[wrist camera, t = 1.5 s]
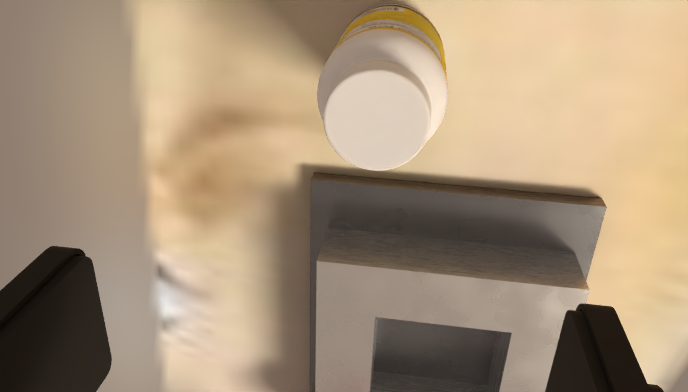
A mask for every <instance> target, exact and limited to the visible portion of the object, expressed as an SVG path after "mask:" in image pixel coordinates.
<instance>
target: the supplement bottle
mask: <svg viewBox="0 0 688 392" xmlns="http://www.w3.org/2000/svg"><path fill="white" fill-rule="evenodd" d="M447 98H448V86H447V77H446V65H445V56H444V49H443V44H442V41H441V38H440V36H439V34H438V32H437V30H436V28H435V27H434V26H433V24H432V23H431V22H430V21H429V20H428V19H427V18H426V17H425V16H424V15H423V14H421V13H420V12H418V11H416V10H414V9H412V8H410V7H407V6H404V5H399V4H383V5H379V6H375V7H372V8H370V9H368V10H366V11H364V12H362V13H361V14H360V15H358V16H357V17H356V18H355V19H354V20H353V21H352V22H351V23H350V24H349V26H348V27H347V28H346V30H345V31H344V33H343V35H342V36H341V38H340V40H339V42H338V43H337V45H336V47H335V48H334V50H333V52H332V54H331V55H330V57H329V58H328V60H327V62H326V63H325V65H324V67H323V70H322V72H321V75H320V78H319V83H318V90H317V99H318V107H319V111H320V114H321V117H322V119H323V122H324V129H325V133H326V136H327V138H328V141H329V143H330V144H331V146H332V147H333V149H334V150H335V151H336V152H337V154H338V155H340V156H341V157H342V158H343V159H344V160H346V161H347V162H349V163H350V164H352V165H354V166H357V167H359V168H362V169H367V170H374V171H382V170H389V169H393V168H396V167H399V166H401V165H403V164H405V163H407V162H408V161H410V160H411V159H412V158H413V157H415V156H416V155H417V154H418V152H419V151H420V150H421V149H422V147H423V146H424V144H425V142H427V141H428V140H429V139H430V138H431V137H432V135H433V134H434V133H435V132H436V130H437V129H438V127H439V125H440V123H441V121H442V119H443V117H444V114H445V111H446V106H447Z"/></svg>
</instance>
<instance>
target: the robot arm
mask: <svg viewBox="0 0 688 392" xmlns="http://www.w3.org/2000/svg"><path fill="white" fill-rule="evenodd" d="M111 360H112V359H111V352H110V347H109V342H108V337H107V332H106V327H105V322H104V317H103V312H102V307H101V302H100V297H99V292H98V287H97V282H96V277H95V272H94V267H93V263H92V260H91V259H90V258H89V257H86V256H85V253H84V252H83V251H82V250H81V249H77V248H68V247H58V246H51V247H49V248H48V249H46V250H45V251H44V252H43V253H42V254H41V255H39V256H38V257H37V258H36V259H35V260H34V261H33V262H32V263H31V264H29V265H28V266H27V267H26V268H25V269H24V270H23V271H22V272H21V273H19V274H18V275H17V276H16V277H15V278H14V279H13V280H12V281H11V282H10V283H8V284H7V285H6V286H5V287H4V288H3V289H2V290H1V291H0V392H96V391H97V390H98V388H99V387H100V385H101V384H102V382H103V381H104V379H105V378H106V376H107V374H108V373H109V370H110V367H111ZM545 392H664V391H663V390H662V389H661V388H660V387H659V386H657V385H651V384H647V382H646V380H645V377H644V375H643V373H642V370H641V368H640V366H639V363H638V361H637V359H636V357H635V354H634V352H633V350H632V347H631V345H630V343H629V341H628V338H627V336H626V334H625V331H624V329H623V327H622V325H621V322H620V320H619V318H618V315H617V313H616V311H615V309H614V308H613V307H610V306H601V305H592V304H583V303H581V304H579V305H578V306H577V308H576V311H574V310H568V311H567V312H566V314H565V317H564V321H563V325H562V329H561V332H560V336H559V340H558V344H557V348H556V352H555V355H554V359H553V363H552V367H551V371H550V375H549V378H548V382H547V386H546V390H545Z"/></svg>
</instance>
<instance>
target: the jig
mask: <svg viewBox="0 0 688 392" xmlns="http://www.w3.org/2000/svg"><path fill="white" fill-rule="evenodd" d="M605 211H606V205H605V203H604V201H603V200H602V198H592V197H581V196H570V195H558V194H547V193H536V192H525V191H514V190H503V189H491V188H480V187H469V186H458V185H447V184H436V183H424V182H413V181H402V180H391V179H380V178H369V177H357V176H346V175H335V174H324V173H314V174H313V177H312V179H311V272H310V392H545V390H546V386H547V382H548V378H549V375H550V371H551V367H552V363H553V359H554V355H555V352H556V348H557V344H558V340H559V336H560V332H561V329H562V325H563V321H564V317H565V314H566V312H567V311H568V310H574V311H576V308H577V306H578V305H579V304H581V303H583V304H586V300H587V297H588V293H589V288H588V285H587V283H586V279H587V276H588V272H589V269H590V265H591V261H592V258H593V254H594V251H595V247H596V243H597V240H598V236H599V232H600V229H601V225H602V222H603V218H604V214H605Z"/></svg>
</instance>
